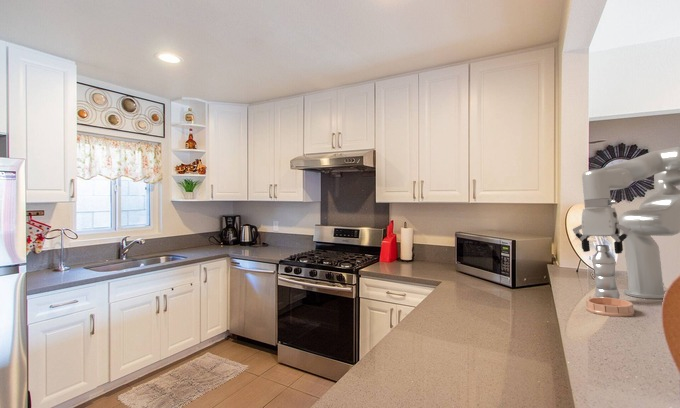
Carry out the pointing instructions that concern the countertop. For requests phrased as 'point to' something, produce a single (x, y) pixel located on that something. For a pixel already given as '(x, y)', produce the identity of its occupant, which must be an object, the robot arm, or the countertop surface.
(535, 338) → the countertop surface
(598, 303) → the round tray
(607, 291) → the plastic bottle
